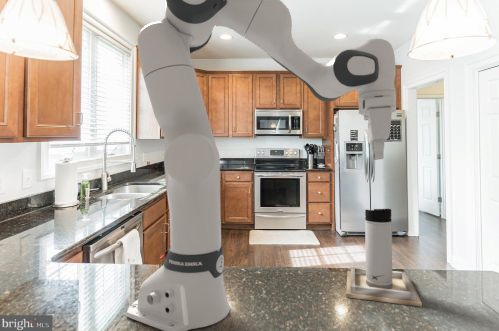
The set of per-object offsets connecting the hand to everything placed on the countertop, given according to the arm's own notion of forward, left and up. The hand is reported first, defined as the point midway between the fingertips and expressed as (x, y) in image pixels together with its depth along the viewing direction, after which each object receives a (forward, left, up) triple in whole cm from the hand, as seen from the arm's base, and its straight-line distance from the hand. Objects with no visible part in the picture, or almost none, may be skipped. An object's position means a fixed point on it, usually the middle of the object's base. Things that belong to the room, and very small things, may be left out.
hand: (377, 159), depth 76 cm
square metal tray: (0, 0, -33) cm, 33 cm away
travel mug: (0, 0, -32) cm, 32 cm away
